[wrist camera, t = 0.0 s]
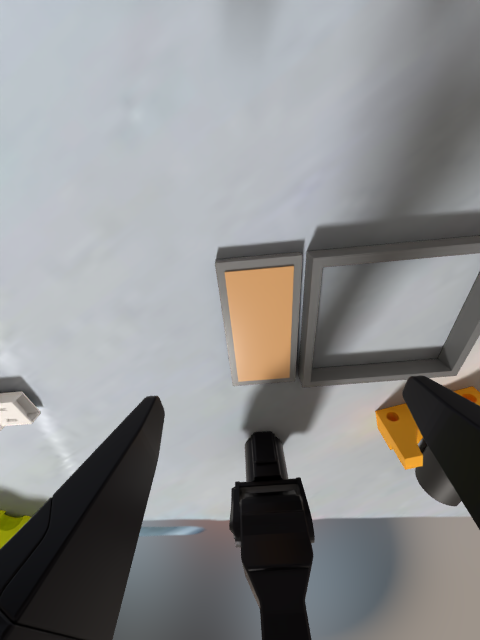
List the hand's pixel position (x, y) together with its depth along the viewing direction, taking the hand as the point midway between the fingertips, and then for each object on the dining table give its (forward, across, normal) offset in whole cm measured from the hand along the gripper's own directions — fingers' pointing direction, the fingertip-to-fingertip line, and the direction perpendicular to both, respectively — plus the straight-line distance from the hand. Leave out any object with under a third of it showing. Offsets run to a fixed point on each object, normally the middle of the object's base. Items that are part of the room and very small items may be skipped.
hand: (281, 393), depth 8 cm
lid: (+14, 0, +6) cm, 15 cm away
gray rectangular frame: (+14, -13, +6) cm, 20 cm away
